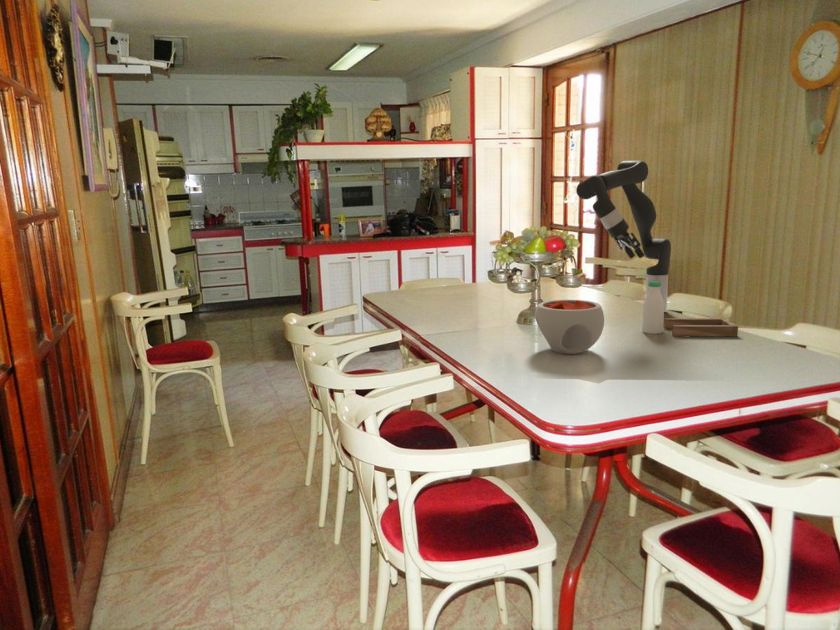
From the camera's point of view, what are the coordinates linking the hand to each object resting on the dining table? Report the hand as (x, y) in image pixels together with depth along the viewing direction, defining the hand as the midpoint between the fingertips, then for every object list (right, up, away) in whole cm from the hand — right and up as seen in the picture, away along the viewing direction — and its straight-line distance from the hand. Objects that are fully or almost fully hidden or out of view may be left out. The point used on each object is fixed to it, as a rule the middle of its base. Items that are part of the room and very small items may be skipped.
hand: (637, 257), depth 243 cm
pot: (-31, -35, -19) cm, 51 cm away
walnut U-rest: (+24, -29, +3) cm, 38 cm away
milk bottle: (+8, -29, +5) cm, 31 cm away
